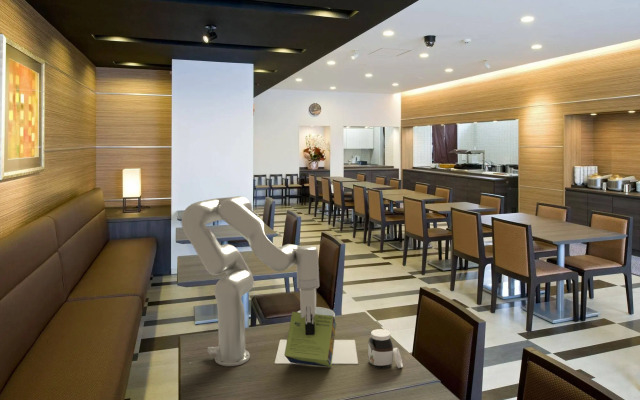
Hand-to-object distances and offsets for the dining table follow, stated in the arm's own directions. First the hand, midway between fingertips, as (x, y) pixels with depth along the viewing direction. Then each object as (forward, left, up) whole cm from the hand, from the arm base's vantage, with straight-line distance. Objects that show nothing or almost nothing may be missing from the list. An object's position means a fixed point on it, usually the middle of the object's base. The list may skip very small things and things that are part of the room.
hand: (310, 334), depth 159 cm
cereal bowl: (+1, +36, -14) cm, 38 cm away
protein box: (-1, 0, -10) cm, 10 cm away
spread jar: (+27, +5, -14) cm, 31 cm away
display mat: (+2, +15, -13) cm, 20 cm away
